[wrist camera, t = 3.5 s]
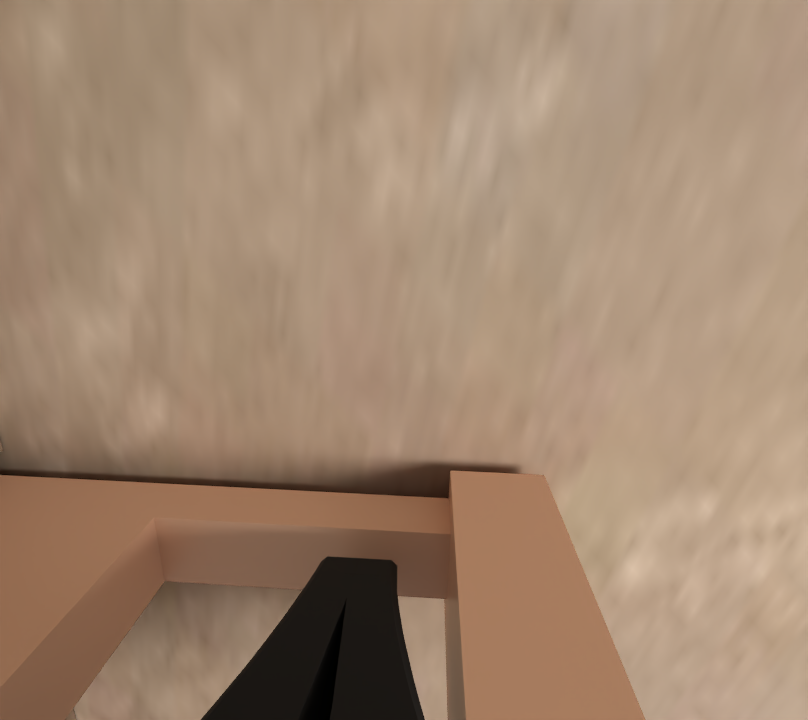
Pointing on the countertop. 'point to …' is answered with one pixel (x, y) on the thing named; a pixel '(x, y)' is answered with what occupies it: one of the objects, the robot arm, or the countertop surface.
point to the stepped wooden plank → (292, 569)
